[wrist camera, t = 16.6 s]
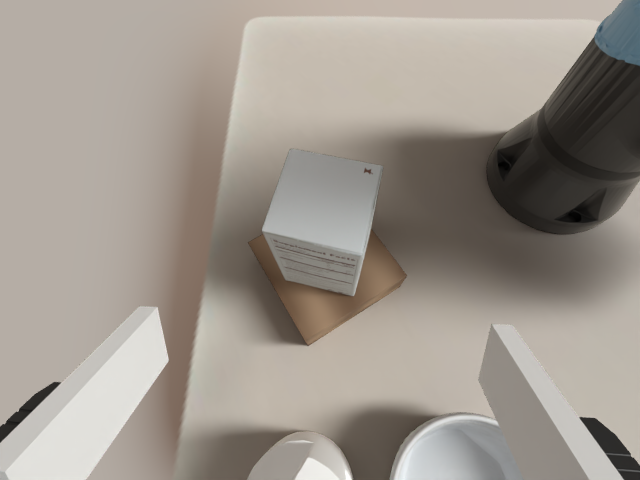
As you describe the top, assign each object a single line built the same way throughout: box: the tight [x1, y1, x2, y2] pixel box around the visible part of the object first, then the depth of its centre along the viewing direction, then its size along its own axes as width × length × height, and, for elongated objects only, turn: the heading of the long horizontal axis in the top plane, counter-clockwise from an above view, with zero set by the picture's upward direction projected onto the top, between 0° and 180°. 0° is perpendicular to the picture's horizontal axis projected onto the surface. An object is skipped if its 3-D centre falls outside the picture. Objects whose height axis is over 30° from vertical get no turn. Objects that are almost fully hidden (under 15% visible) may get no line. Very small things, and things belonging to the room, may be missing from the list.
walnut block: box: [248, 229, 407, 346], centre depth 38 cm, size 12×12×5 cm
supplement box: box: [262, 149, 383, 296], centre depth 30 cm, size 7×7×13 cm
